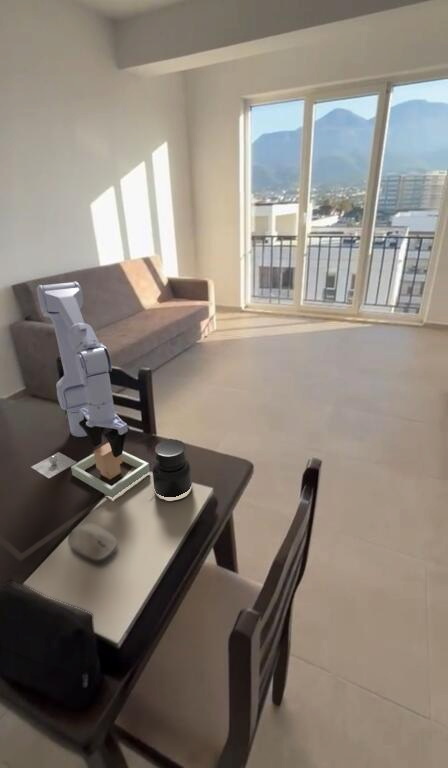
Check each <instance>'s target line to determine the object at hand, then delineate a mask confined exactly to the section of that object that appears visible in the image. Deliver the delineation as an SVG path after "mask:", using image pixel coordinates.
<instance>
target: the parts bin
mask: <svg viewBox="0 0 448 768" xmlns="http://www.w3.org/2000/svg"><path fill="white" fill-rule="evenodd" d="M121 455H122V462H123V463H126V464H128V465H130V466H131V467H134V468H136V469H134V470H133V471H132V472H130V473H129V474H127V475H126V476H125V477H122V479H120V480H118V481H117V482H116V483H114V484H113V485H110V484H109V483H107V482H105V481H103V480H101V479H100V478H97V477H95V476H94V475H92V474H90V473H88V472H86V471H85V470H87V469H90V468H91V467H93V466H94V465H96V462H95V456H94V453H92V454H90V455H89V456H87V457H85V458H83V459H82V460H80V461H78V462H77V463H75V464H73V465H72V466H70V470H71V473H72V475H71V476H74V477H75V478H76V479H78V480H80V481H82V482H83V483H85V484H87V485H89V486H90V487H92V488H94V489H96V490H98V491H99V492H101V493H102V494H104V495H103V497H104V496H110V497H112V498H113V497H114V496H115V495H117V494H118V493H119V492H121V491H122V490H123V489H125V488H126V487H128V486H129V485H131V484H132V483H133V482H135V481H136V480H138V479H139V478H141V477H142V476H143V475H145V474H147V473H148V472H150V471H151V470H150V463H149V462H147V461H145V460H143V459H140V458H139V457H137V456H134V455H132V454H130V453H128V452H126V451H125V450H123V452H122V454H121ZM150 473H151V472H150Z"/></svg>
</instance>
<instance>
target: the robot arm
mask: <svg viewBox="0 0 448 768" xmlns="http://www.w3.org/2000/svg"><path fill="white" fill-rule="evenodd" d="M36 295H37V299H38V305H39V309H40V312H41V315H42V316H43V317H45V318H46V317H47V318H49V319H50V320H51V322H52V324H53V327H54V333H55V337H56V342H57V346H58V351H59V352H58V353H59V355H60V360H61V361H60V362H61V364H62V368H63V376H62V377H60V379H59V380H58V381H57V382H56V385H55V386H56V387H55V388H56V396H57V400H58V403H59V406H60V408H61V409H62V410H63V411H66V414H67V419H68V424H69V430H70V434H71V435H72V436H74V437H78V438H79V437H81V438H82V437H88V439H89V441H90V443H91V446H92V447H93V448H96V447H98V446H99V445H102V441H103V440H102V439H103V438H102V436H103V435H102V428H107V429H111V430H110V431H108V432H107V433H104V436H103V437H104V438H106V440H107V442H108V443H109V444H110V446H111V450H112V454H113V456H114V457H118V456H120V455H121V454H122V452H123V451H124V445H125V442H126V438H127V435H128V434H129V432H130V427H129V426H128V424H127V423H126V422H125V421H123V419H121V418H120V417H119V415H117V413H116V412H115V405H114V404H115V403H114V398H113V392H112V385H111V378H110V373H111V372H112V370H113V367H112V366H113V364H112V358H111V354H110V351H109V350H108V348H107V347H106V345H104V344H103V343H102V342H101V343H100V341H99V340H98V338H97V334H96V333H95V331H94V329H93V327H92V326H91V325H90V324H88V323H85V321H84V318H83V315H82V312H81V308H83V304H84V295H83V291H82V287H81V285H80V284H79V282H78V281H75V280H74V281H71V282H63V283H52V284H38V285H37V287H36ZM109 372H110V373H109Z"/></svg>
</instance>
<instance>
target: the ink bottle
mask: <svg viewBox="0 0 448 768" xmlns="http://www.w3.org/2000/svg"><path fill="white" fill-rule="evenodd" d="M154 454H155V455H154V456H155V463H154V464H153V467H152V479H153V480H152V483H153V489H155V491H156V493H157V494H159V495H161V496H164V497H176V496H179V495H181V494H183V493H185V492H187V491H188V490H189V489H190V487H191V485H192V486H193V482H192V478H193V477H192V467H191V463H190V462H189V460H188V459H187V456H186V455H187V452H186V445H185V443H184V442H183V441H182V440H179V439H164V440H163V441H159V442H158V443H157V444H156V445H155V447H154ZM155 491H154V492H155Z"/></svg>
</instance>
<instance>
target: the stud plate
mask: <svg viewBox="0 0 448 768" xmlns="http://www.w3.org/2000/svg"><path fill="white" fill-rule="evenodd" d="M76 463H78V462H77V461H76V460H74V459H72V458H70V457H68V456H67V455H65V454H63V453H61V452H60V451H58V452H56V453H55V454H53V455H51V456H49V457H47V458H44V459H43V460H41V461H40V462H38V463H36V464H34V465H32V466H30V468H32V469H33V470H35V471H36V472H38V473H39V474H41V475H42V476H44V477H46V478H47V479H50V478H53V477H54V476H56V475H59V474H60V473H61V472H63V471H64V470H67V469H68V468H71V466H73V465H75V464H76Z"/></svg>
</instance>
